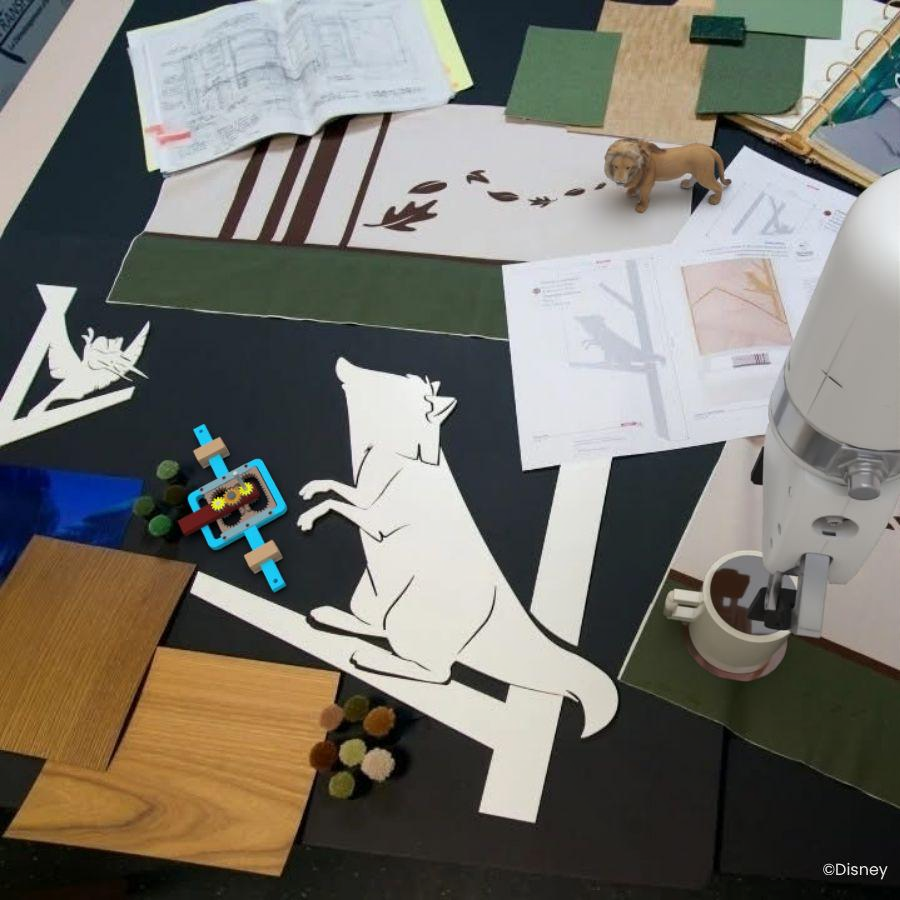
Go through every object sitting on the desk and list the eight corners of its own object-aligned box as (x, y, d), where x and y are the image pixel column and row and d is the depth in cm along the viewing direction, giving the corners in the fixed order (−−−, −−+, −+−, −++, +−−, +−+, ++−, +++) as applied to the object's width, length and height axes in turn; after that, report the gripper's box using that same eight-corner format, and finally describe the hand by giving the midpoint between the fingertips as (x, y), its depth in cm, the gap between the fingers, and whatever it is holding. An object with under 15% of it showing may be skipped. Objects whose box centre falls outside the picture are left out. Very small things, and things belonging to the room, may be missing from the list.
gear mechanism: (226, 621, 76) (320, 569, 78) (205, 600, 72) (305, 544, 73) (153, 458, 86) (237, 414, 88) (129, 429, 81) (219, 384, 83)
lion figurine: (607, 228, 95) (612, 164, 87) (595, 195, 98) (598, 130, 90) (738, 201, 95) (754, 134, 87) (721, 168, 98) (736, 101, 90)
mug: (780, 594, 71) (804, 555, 64) (780, 680, 68) (805, 649, 61) (663, 578, 73) (674, 539, 66) (656, 661, 69) (667, 629, 62)
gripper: (957, 582, 36) (838, 688, 51) (926, 273, 45) (831, 441, 59) (773, 557, 38) (708, 668, 52) (775, 261, 46) (719, 428, 61)
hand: (773, 547), depth 56 cm, fingers open, 9 cm apart
